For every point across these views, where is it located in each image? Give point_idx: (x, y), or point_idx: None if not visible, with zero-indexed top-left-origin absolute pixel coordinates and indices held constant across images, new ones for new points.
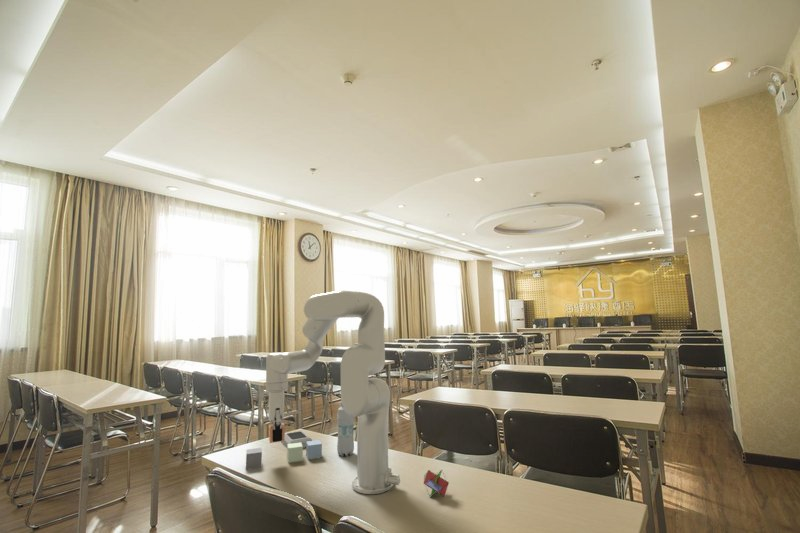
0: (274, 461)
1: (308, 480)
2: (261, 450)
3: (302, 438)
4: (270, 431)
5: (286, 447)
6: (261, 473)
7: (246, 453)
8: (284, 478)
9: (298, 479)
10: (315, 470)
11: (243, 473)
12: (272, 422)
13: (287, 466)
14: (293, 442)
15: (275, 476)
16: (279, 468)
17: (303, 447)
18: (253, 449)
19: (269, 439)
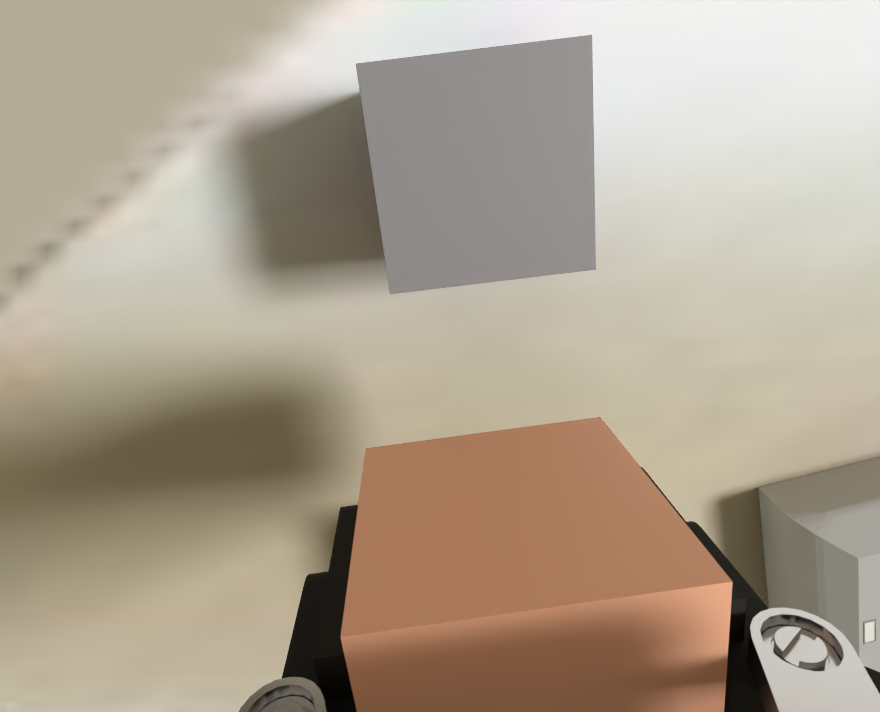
0: (513, 374)
1: (7, 638)
2: (460, 283)
3: (866, 651)
4: (351, 587)
5: (870, 461)
6: (213, 277)
7: (391, 60)
8: (62, 481)
9: (32, 577)
10: (199, 677)
11: (251, 77)
12: (806, 686)
13: (340, 491)
14: (822, 566)
15: (117, 409)
16: (308, 429)
17: (771, 600)
18: (553, 156)
19: (488, 446)
